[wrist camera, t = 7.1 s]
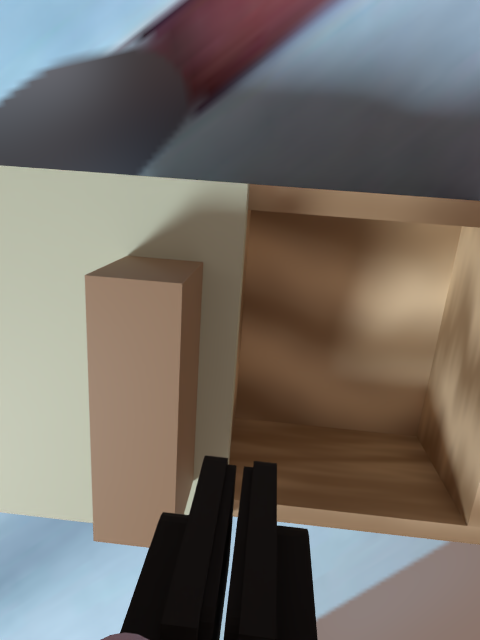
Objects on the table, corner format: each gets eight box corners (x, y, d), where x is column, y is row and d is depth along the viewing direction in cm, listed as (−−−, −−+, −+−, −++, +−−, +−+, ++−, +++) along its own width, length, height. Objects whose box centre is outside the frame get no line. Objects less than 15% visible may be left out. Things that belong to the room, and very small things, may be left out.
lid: (-93, 158, 18) (-234, 147, 13) (249, 183, 17) (238, 182, 12) (-46, 488, 23) (-136, 573, 18) (225, 519, 22) (210, 617, 17)
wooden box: (236, 183, 26) (217, 181, 18) (477, 201, 25) (581, 208, 17) (221, 421, 31) (200, 512, 22) (424, 442, 30) (483, 544, 21)
